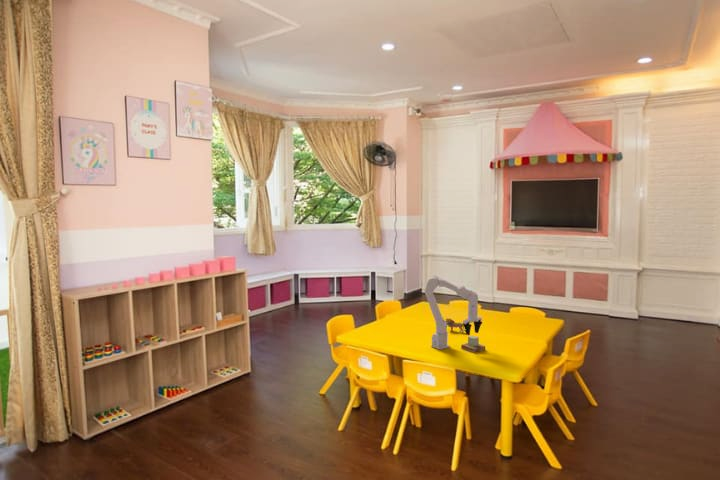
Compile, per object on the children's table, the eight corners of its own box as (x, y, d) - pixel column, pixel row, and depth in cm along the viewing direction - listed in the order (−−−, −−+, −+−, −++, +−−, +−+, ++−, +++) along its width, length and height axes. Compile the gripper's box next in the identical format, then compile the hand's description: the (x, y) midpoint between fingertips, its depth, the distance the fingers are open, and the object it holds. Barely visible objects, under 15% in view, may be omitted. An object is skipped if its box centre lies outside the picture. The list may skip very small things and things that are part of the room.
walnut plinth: (473, 354, 266) (473, 349, 265) (461, 349, 274) (461, 344, 274) (485, 350, 271) (485, 346, 271) (472, 346, 280) (472, 341, 279)
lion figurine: (444, 331, 311) (444, 318, 310) (446, 329, 316) (446, 317, 315) (466, 333, 305) (466, 320, 304) (467, 331, 310) (467, 319, 309)
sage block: (473, 346, 270) (473, 338, 269) (467, 344, 273) (468, 336, 273) (478, 345, 272) (478, 337, 272) (472, 343, 276) (473, 335, 275)
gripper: (469, 314, 265) (469, 337, 266) (485, 311, 273) (485, 333, 274) (460, 312, 270) (460, 334, 272) (476, 309, 279) (476, 330, 280)
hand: (472, 333), depth 273 cm, fingers open, 7 cm apart
